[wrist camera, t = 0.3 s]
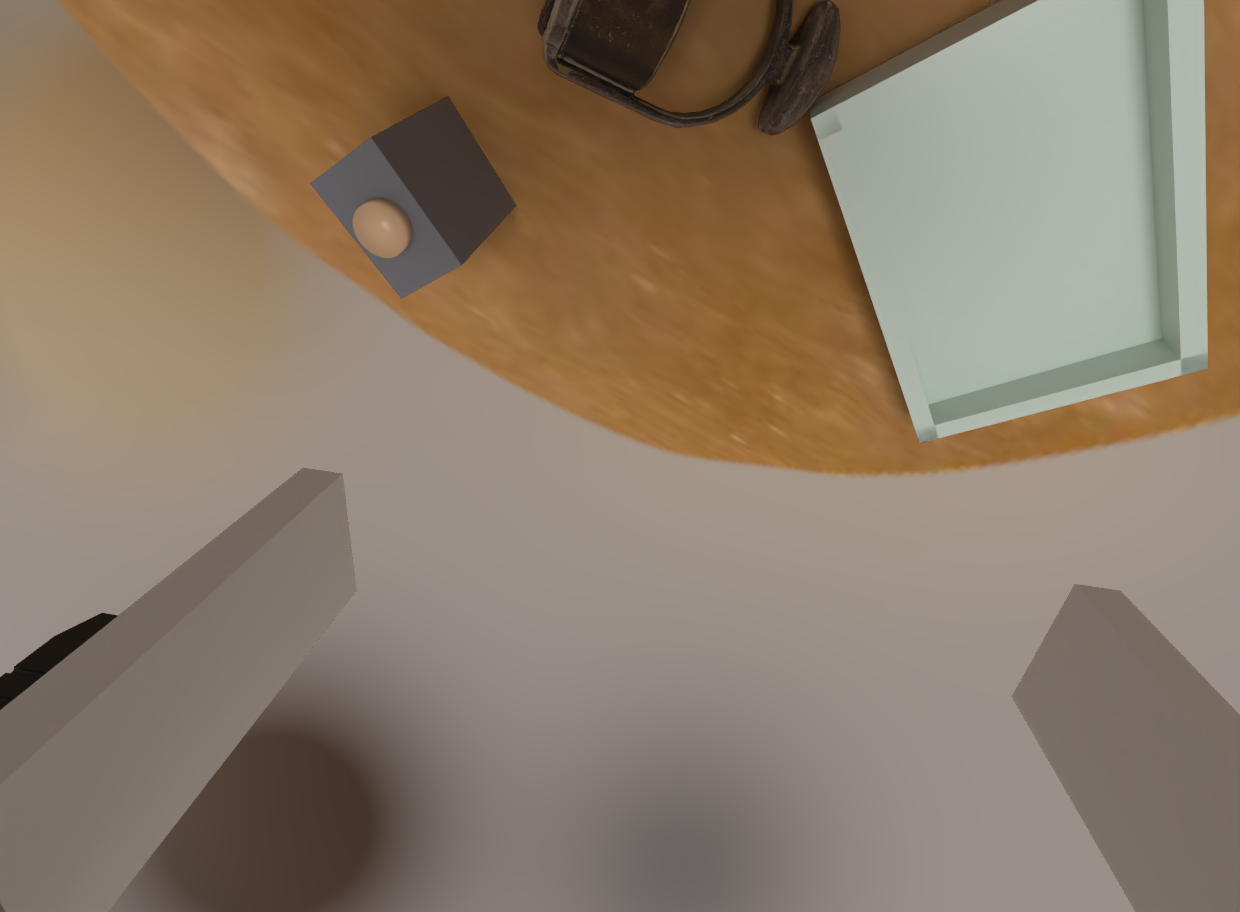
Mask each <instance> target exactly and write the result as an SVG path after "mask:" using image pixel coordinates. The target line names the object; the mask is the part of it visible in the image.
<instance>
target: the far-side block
mask: <svg viewBox="0 0 1240 912" xmlns="http://www.w3.org/2000/svg"><path fill="white" fill-rule="evenodd" d="M310 184H311V185H312V186H313V188H314V189H315V190H316V192H317V193H318V194H319V195H320V197H321V198H322V199H323V200H324V202H325V203H326V204H327V205H328V207H329V208H330V209H331V210H332V212H333V213H334V214H335V215H336V217H337V218H338V219H339V221H340V222H341V223H342V224H343V226H344V227H345V228H346V229H347V231H348V232H349V233H350V234H351V236H352V237H353V238H354V239H355V241H356V242H357V243H358V245H359V246H360V247H361V248H362V250H363V251H364V252H365V253H366V255H367V256H368V257H369V258H370V260H371V261H372V262H373V263H374V265H375V266H376V267H377V268H378V270H379V271H380V272H381V274H382V275H383V276H384V277H385V279H386V280H387V281H388V282H389V284H390V285H391V286H392V287H393V289H394V290H395V291H396V292H397V294H398V295H399V296H400V298H401V299H402V298H403V297H405V296H407V295H409V294H410V293H412V292H414V291H416V290H418V289H419V288H421V287H423V286H425V285H427V284H428V283H430V282H432V281H434V280H436V279H437V278H439V277H441V276H443V275H445V274H446V273H448V272H450V271H452V270H454V269H455V268H457V267H459V266H461V265H462V264H463V263H464V262H465V261H466V260H467V259H468V258H469V256H470V255H471V254H472V253H473V252H474V251H475V250H476V249H477V248H478V247H479V245H480V244H481V243H482V242H483V241H484V240H485V239H486V238H487V237H488V236H489V235H490V233H491V232H492V231H493V230H494V229H495V228H496V227H497V226H498V225H499V224H500V223H501V221H502V220H503V219H504V218H505V217H506V216H507V215H508V214H509V213H510V212H511V210H512V209H513V208H514V207H515V206H516V204H515V203H514V201H513V199H512V198H511V196H510V195H509V193H508V191H507V190H506V188H505V187H504V185H503V183H502V182H501V180H500V179H499V177H498V175H497V174H496V172H495V171H494V169H493V167H492V166H491V164H490V163H489V161H488V159H487V158H486V156H485V154H484V153H483V151H482V150H481V148H480V146H479V145H478V143H477V142H476V140H475V138H474V137H473V135H472V134H471V132H470V130H469V129H468V127H467V126H466V124H465V122H464V121H463V119H462V118H461V116H460V114H459V113H458V111H457V110H456V108H455V106H454V105H453V103H452V102H451V100H450V98H449V97H446V98H444V99H442V100H440V101H438V102H436V103H435V104H433V105H431V106H429V107H427V108H425V109H423V110H421V111H420V112H418V113H416V114H414V115H412V116H410V117H408V118H406V119H405V120H403V121H401V122H399V123H397V124H395V125H393V126H391V127H390V128H388V129H386V130H384V131H382V132H380V133H378V134H376V135H374V136H373V137H371V138H369V139H368V140H367V141H365V142H364V143H363V144H361V145H360V146H359V147H357V148H356V149H355V150H354V151H352V152H351V153H350V154H348V155H347V156H346V157H344V158H343V159H342V160H340V161H339V162H338V163H336V164H335V165H334V166H332V167H331V168H330V169H328V170H327V171H326V172H324V173H323V174H322V175H320V176H319V177H318V178H316V179H315V180H314V181H312V182H311V183H310Z"/></svg>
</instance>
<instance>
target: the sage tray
mask: <svg viewBox="0 0 1240 912" xmlns="http://www.w3.org/2000/svg"><path fill="white" fill-rule="evenodd" d="M809 112H810V118H811V121H812V124H813V127H814V130H815V133H816V136H817V139H818V142H819V145H820V148H821V151H822V154H823V157H824V160H825V163H826V166H827V169H828V172H829V175H830V178H831V181H832V184H833V187H834V190H835V193H836V196H837V199H838V202H839V205H840V207H841V210H842V213H843V216H844V219H845V222H846V225H847V228H848V231H849V234H850V237H851V240H852V243H853V246H854V249H855V252H856V255H857V258H858V261H859V264H860V267H861V270H862V273H863V276H864V279H865V282H866V285H867V288H868V291H869V294H870V297H871V300H872V303H873V306H874V309H875V312H876V315H877V317H878V320H879V323H880V326H881V329H882V332H883V335H884V338H885V341H886V344H887V347H888V350H889V353H890V356H891V359H892V362H893V365H894V368H895V371H896V374H897V377H898V380H899V383H900V386H901V389H902V392H903V395H904V398H905V401H906V404H907V407H908V410H909V413H910V416H911V419H912V422H913V425H914V428H915V430H916V433H917V436H918V439H919V442H920V443H922V442H926V441H930V440H934V439H938V438H942V437H946V436H949V435H953V434H957V433H961V432H965V431H969V430H973V429H976V428H980V427H984V426H988V425H992V424H996V423H1000V422H1003V421H1007V420H1011V419H1015V418H1019V417H1023V416H1027V415H1031V414H1034V413H1038V412H1042V411H1046V410H1050V409H1054V408H1058V407H1061V406H1065V405H1069V404H1073V403H1077V402H1081V401H1085V400H1088V399H1092V398H1096V397H1100V396H1104V395H1108V394H1112V393H1116V392H1119V391H1123V390H1127V389H1131V388H1135V387H1139V386H1143V385H1146V384H1150V383H1154V382H1158V381H1162V380H1166V379H1170V378H1173V377H1177V376H1181V375H1185V374H1189V373H1193V372H1197V371H1201V370H1204V369H1208V351H1207V252H1206V153H1205V54H1204V0H1000V1H999V2H997V3H995V4H993V5H991V6H989V7H987V8H985V9H984V10H982V11H980V12H978V13H976V14H974V15H972V16H970V17H969V18H967V19H965V20H963V21H961V22H959V23H957V24H955V25H954V26H952V27H950V28H948V29H946V30H944V31H942V32H940V33H939V34H937V35H935V36H933V37H931V38H929V39H927V40H925V41H924V42H922V43H920V44H918V45H916V46H914V47H912V48H910V49H909V50H907V51H905V52H903V53H901V54H899V55H897V56H895V57H894V58H892V59H890V60H888V61H886V62H884V63H882V64H880V65H879V66H877V67H875V68H873V69H871V70H869V71H867V72H865V73H864V74H862V75H860V76H858V77H856V78H854V79H852V80H850V81H849V82H847V83H845V84H843V85H841V86H839V87H837V88H835V89H834V90H832V91H830V92H828V93H826V94H824V95H822V96H820V97H819V98H817V99H816V101H815V102H814V104H813V105H812V106H811V108H810V109H809Z"/></svg>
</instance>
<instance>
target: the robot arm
mask: <svg viewBox="0 0 1240 912" xmlns="http://www.w3.org/2000/svg"><path fill="white" fill-rule="evenodd" d="M355 592H356V583H355V574H354V566H353V557H352V549H351V541H350V532H349V523H348V516H347V507H346V498H345V490H344V481H343V474H341V473H334V472H328V471H321V470H314V469H307V468H302V469H301V470H299V471H298V472H297V473H296V474H294V475H293V476H292V477H291V478H289V479H288V480H287V481H286V482H284V483H283V484H282V485H281V486H279V487H278V488H277V489H276V490H274V491H273V492H272V493H271V494H269V495H268V496H267V497H266V498H264V499H263V500H262V501H261V502H259V503H258V504H257V505H256V506H254V508H252V509H251V510H250V511H248V512H247V513H246V514H245V515H243V516H242V517H241V518H239V519H238V520H237V521H236V522H234V523H233V524H232V525H231V526H229V527H228V528H227V529H226V530H225V531H223V532H222V533H221V534H219V535H218V536H217V537H216V538H214V539H213V540H212V541H211V542H209V543H208V544H207V545H206V546H204V547H203V548H202V549H201V550H199V552H197V553H196V554H195V555H193V556H192V557H191V558H190V559H188V560H187V561H186V562H185V563H183V564H182V565H181V566H180V567H178V568H177V569H176V570H175V571H173V572H172V573H171V574H170V575H168V576H167V577H166V578H165V579H163V580H162V581H161V582H160V583H158V584H157V585H156V586H155V587H153V588H152V589H151V590H150V591H148V592H147V593H146V594H145V595H143V596H142V597H141V598H140V599H138V600H137V601H136V602H135V603H134V604H132V605H131V606H130V607H128V608H127V609H126V610H125V611H123V612H122V613H121V614H120V615H118V616H117V615H112V614H106V613H101V614H99V615H97V616H95V617H93V618H91V619H89V620H87V621H85V622H83V623H80V624H78V625H76V626H75V627H72V628H70V629H68V630H66V631H64V632H62V633H60V634H58V635H56V636H54V637H53V638H51V639H50V640H49V641H48V642H46V643H45V644H44V645H42V646H41V647H40V648H38V649H37V650H36V651H34V652H33V653H32V654H31V655H29V656H28V657H26V658H25V659H24V660H22V661H21V662H20V663H18V664H17V665H16V666H14V671H13V672H12V673H5V674H4V675H2V676H1V677H0V912H108V910H109V909H110V908H111V907H112V905H113V904H114V903H115V901H116V900H117V899H118V897H119V896H120V895H121V894H122V892H123V891H124V890H125V889H126V887H127V886H128V885H129V883H130V882H131V881H132V879H133V878H134V877H135V875H136V874H137V873H138V872H139V871H140V869H141V868H142V866H143V865H144V864H145V863H146V861H147V860H148V859H149V858H150V856H151V855H152V854H153V852H154V851H155V850H156V849H157V847H158V846H159V845H160V843H161V842H162V841H163V840H164V838H165V837H166V836H167V834H168V833H169V832H170V830H171V829H172V828H173V827H174V825H175V824H176V823H177V822H178V820H179V819H180V818H181V816H182V815H183V814H184V813H185V811H186V810H187V809H188V807H189V806H190V805H191V804H192V802H193V801H194V799H195V798H196V797H197V796H198V795H199V793H200V792H201V791H202V789H203V788H204V787H205V785H206V784H207V783H208V782H209V780H210V779H211V778H212V776H213V775H214V774H215V772H216V771H217V770H218V769H219V767H220V766H221V764H223V762H224V761H225V760H226V758H227V757H228V756H229V755H230V753H231V752H232V751H233V749H234V748H235V747H236V746H237V744H238V743H239V742H240V740H241V739H242V738H243V736H244V735H245V734H246V733H247V731H248V730H249V729H250V728H251V726H252V725H253V724H254V722H255V721H256V720H257V718H258V717H259V716H260V714H261V713H262V712H263V711H264V709H265V708H266V707H267V706H268V704H269V703H270V702H271V700H272V699H273V698H274V697H275V695H276V694H277V693H278V691H279V690H280V689H281V688H282V686H283V685H284V684H285V682H286V681H287V680H288V679H289V677H290V676H291V675H292V673H293V672H294V671H295V670H296V668H297V667H298V666H299V664H300V663H301V662H302V660H303V659H304V658H305V657H306V655H307V654H308V653H309V651H310V650H311V649H312V648H313V646H314V645H315V644H316V642H317V641H318V640H319V639H320V637H321V636H322V635H323V633H324V632H325V631H326V630H327V628H328V627H329V626H330V624H331V623H332V622H333V621H334V619H335V618H336V617H337V615H338V614H339V613H340V611H341V610H342V609H343V607H344V606H345V605H346V604H347V602H348V601H349V600H350V599H351V597H352V596H353V595H354V594H355ZM1012 698H1013V700H1014V701H1015V703H1016V705H1017V707H1018V708H1019V710H1020V712H1021V714H1022V715H1023V717H1024V719H1025V721H1026V722H1027V724H1028V726H1029V728H1030V729H1031V731H1032V733H1033V734H1034V736H1035V738H1036V740H1037V741H1038V743H1039V745H1040V747H1041V748H1042V750H1043V752H1044V754H1045V755H1046V757H1047V759H1048V761H1049V762H1050V764H1051V766H1052V767H1053V769H1054V771H1055V773H1056V774H1057V776H1058V778H1059V780H1060V781H1061V783H1062V785H1063V787H1064V788H1065V790H1066V792H1067V794H1068V795H1069V797H1070V799H1071V800H1072V802H1073V804H1074V805H1075V807H1076V809H1077V811H1078V813H1079V814H1080V816H1081V818H1082V820H1083V821H1084V823H1085V825H1086V827H1087V828H1088V830H1089V832H1090V834H1091V835H1092V837H1093V839H1094V840H1095V842H1096V844H1097V846H1098V848H1099V849H1100V851H1101V853H1102V855H1103V856H1104V858H1105V860H1106V861H1107V863H1108V865H1109V866H1110V868H1111V870H1112V872H1113V874H1114V875H1115V877H1116V879H1117V881H1118V882H1119V884H1120V886H1121V887H1122V889H1123V891H1124V893H1125V895H1126V896H1127V898H1128V900H1129V901H1130V903H1131V905H1132V907H1133V908H1134V910H1135V912H1240V715H1239V714H1238V713H1237V712H1236V711H1235V710H1234V708H1232V706H1231V705H1229V703H1228V702H1227V701H1226V700H1225V699H1224V698H1223V697H1222V696H1221V695H1220V694H1219V693H1218V692H1217V691H1216V690H1215V689H1214V688H1213V687H1212V686H1211V685H1210V683H1208V681H1207V680H1206V679H1205V678H1204V677H1203V676H1202V675H1201V674H1200V673H1199V672H1198V671H1197V670H1196V669H1195V668H1194V667H1193V666H1192V665H1191V664H1190V663H1189V662H1188V661H1187V660H1186V659H1185V657H1184V656H1183V655H1182V654H1181V653H1180V652H1179V651H1178V650H1177V649H1176V648H1175V647H1174V646H1173V645H1172V644H1171V643H1170V642H1169V641H1168V640H1167V639H1166V638H1165V637H1164V636H1163V635H1162V633H1160V631H1159V630H1158V629H1157V628H1156V627H1155V626H1154V625H1153V624H1152V623H1151V622H1150V621H1149V620H1148V619H1147V618H1146V617H1145V616H1144V615H1143V614H1142V613H1141V612H1140V611H1139V610H1138V609H1137V607H1136V606H1134V604H1133V603H1132V602H1131V601H1130V600H1129V599H1128V598H1127V597H1126V596H1125V595H1124V594H1123V593H1122V592H1121V591H1118V590H1111V589H1105V588H1098V587H1092V586H1085V585H1078V584H1074V586H1073V588H1072V590H1071V592H1070V593H1069V595H1068V597H1067V599H1066V601H1065V602H1064V604H1063V606H1062V608H1061V609H1060V611H1059V613H1058V615H1057V617H1056V618H1055V620H1054V622H1053V624H1052V625H1051V627H1050V629H1049V631H1048V633H1047V634H1046V636H1045V638H1044V640H1043V642H1042V643H1041V645H1040V647H1039V649H1038V651H1037V652H1036V654H1035V656H1034V658H1033V659H1032V661H1031V663H1030V665H1029V667H1028V668H1027V670H1026V672H1025V674H1024V676H1023V677H1022V679H1021V681H1020V683H1019V684H1018V686H1017V688H1016V690H1015V692H1014V693H1013V695H1012Z"/></svg>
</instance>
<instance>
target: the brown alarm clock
mask: <svg viewBox="0 0 1240 912" xmlns="http://www.w3.org/2000/svg"><path fill="white" fill-rule="evenodd" d="M689 2H690V0H546V3H545V6H544V8H543V9H542V11H541V15H540V18H539V22H538V30H539V33H540V34H541V36H542V38H543V42H544V59H545V61H546V63H547V65H548V67H549V69H550V70H552V71H553V72H554V73H555V74H557V75H559V76H561V77H563V78H565V79H567V80H569V81H572V82H574V83H576V84H578V85H580V86H582V87H584V88H586V89H588V90H590V91H592V92H594V93H596V94H598V95H600V96H603V97H605V98H607V99H609V100H611V101H613V102H615V103H617V104H620V105H622V106H624V107H626V108H628V109H630V110H632V111H635V112H637V113H639V114H641V115H643V116H645V117H647V118H649V119H651V120H653V121H656V122H659V123H662V124H665V125H669V126H672V127H675V128H682V127H693V126H699V125H703V124H708V123H713V122H716V121H718V120H720V119H723V118H725V117H727V116H729V115H731V114H733V113H735V112H736V111H738V110H739V109H740V108H742V107H743V106H744V105H745V104H747V103H748V102H749V101H750V100H751V99H752V98H753V97H754V96H755V95H756V94H757V92H758V91H759V90H760V89H761V88H762V87H763V86H764V85H765V83H767V82H768V81H770V82H771V85H770V87H769V90H768V93H767V95H766V98H765V101H764V103H763V107H762V110H761V113H760V117H759V122H758V127H759V128H760V130H761V131H762V132H764V133H767V134H769V135H776V134H779V133H781V132H783V131H785V130H786V129H788V128H790V127H791V126H793V125H794V124H796V123H797V122H798V121H799V120H800V119H801V118H802V117H803V116H804V115H805V113H806V112H807V111H808V110H809V109H810V108H811V106H812V105H813V104H814V102H815V101H816V99H817V98H818V96H819V94H820V93H821V91H822V90H823V88H824V86H825V85H826V83H827V81H828V79H829V77H830V74H831V72H832V70H833V67H834V64H835V61H836V58H837V52H838V44H839V37H840V18H839V9H838V8H837V7H836V5H835V4H834V3H833V2H832V1H830V0H824V1H822V2H820V3H818V4H817V6H816V7H815V8H814V9H813V11H812V12H811V13H810V14H809V15H808V17H807V18H806V19H805V21H804V23H803V24H802V26H801V27H800V29H799V31H798V32H797V34H796V36H795V37H794V39H793V40H792V42H791V44H788V37H789V32H790V27H791V22H792V11H793V0H776V16H775V21H774V25H773V29H772V34H771V38H770V41H769V43H768V46H767V48H766V50H765V52H764V54H763V56H762V58H761V60H760V62H759V64H758V65H757V67H756V69H755V70H754V72H753V74H752V75H751V77H750V78H749V79H748V81H747V82H746V83H745V84H744V85H743V87H742V88H741V89H740V90H739V91H738V92H737V93H735V94H734V95H733V96H732V97H730V98H729V99H728V100H726V101H725V102H723V103H721V104H720V105H718V106H715V107H712V108H709V109H706V110H703V111H699V112H691V113H675V112H669V111H666V110H664V109H661V108H659V107H656V106H654V105H652V104H650V103H648V102H646V101H644V100H642V99H640V98H638V97H636V96H635V95H634V92H635V91H637V90H641V89H642V88H643V87H645V86H646V85H647V84H648V83H649V82H650V80H651V79H652V77H653V76H654V74H655V73H656V71H657V69H658V68H659V66H660V64H661V63H662V61H663V59H664V57H665V56H666V54H667V52H668V50H669V48H670V47H671V45H672V43H673V41H674V39H675V37H676V35H677V33H678V31H679V29H680V26H681V24H682V22H683V19H684V16H685V13H686V11H687V8H688V5H689ZM558 54H561V58H558V57H557V55H558Z"/></svg>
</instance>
